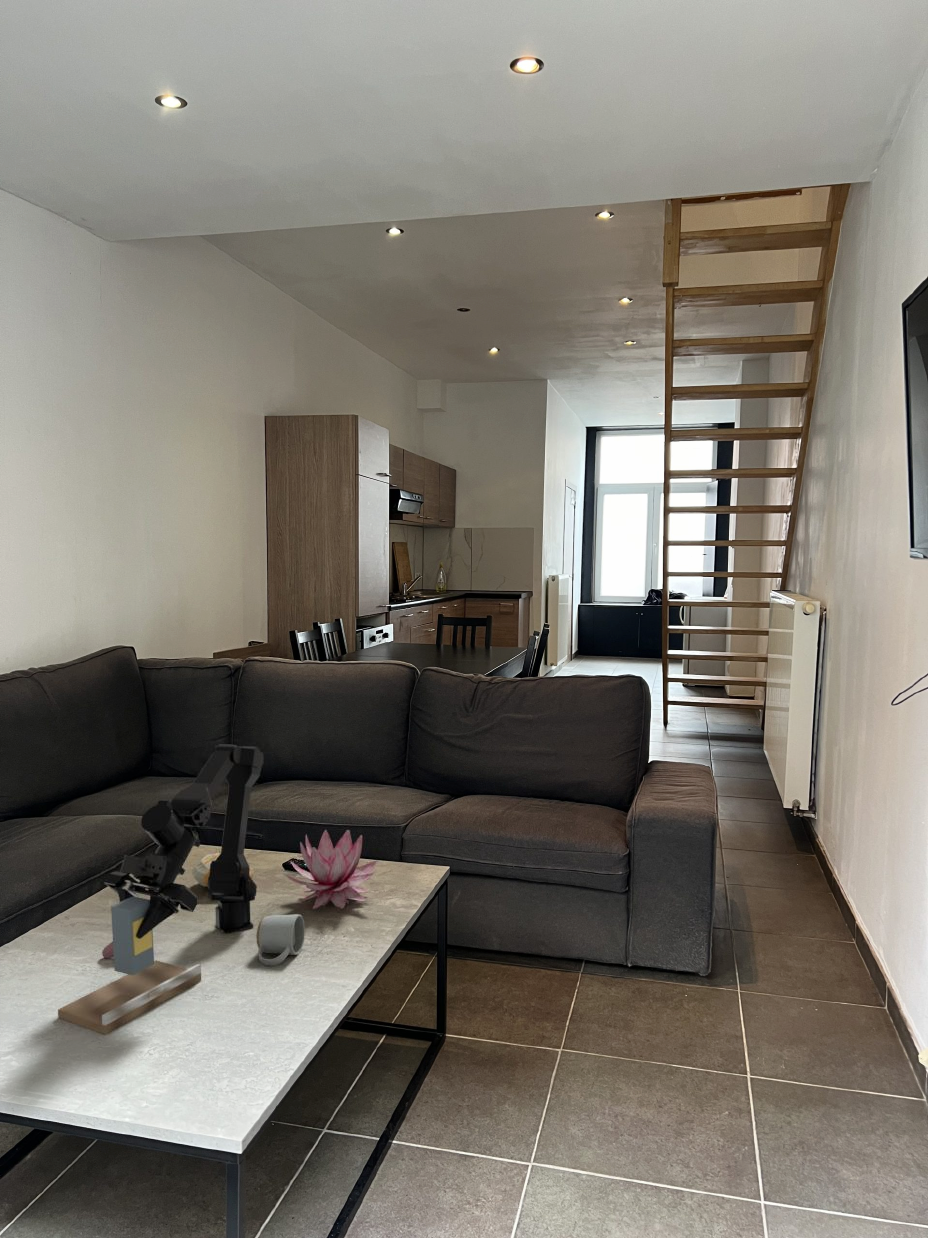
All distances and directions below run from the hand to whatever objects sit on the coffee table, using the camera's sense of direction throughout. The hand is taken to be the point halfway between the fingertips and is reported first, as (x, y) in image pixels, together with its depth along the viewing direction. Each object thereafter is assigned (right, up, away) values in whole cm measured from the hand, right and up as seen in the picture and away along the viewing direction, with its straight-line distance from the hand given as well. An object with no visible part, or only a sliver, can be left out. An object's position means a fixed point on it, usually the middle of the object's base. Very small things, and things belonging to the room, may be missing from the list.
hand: (127, 935), depth 161 cm
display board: (0, -12, +2) cm, 13 cm away
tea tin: (+1, -6, +2) cm, 7 cm away
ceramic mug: (+24, -11, +20) cm, 33 cm away
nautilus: (+1, -9, +62) cm, 62 cm away
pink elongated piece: (-9, -11, +23) cm, 27 cm away
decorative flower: (+30, -9, +49) cm, 58 cm away
